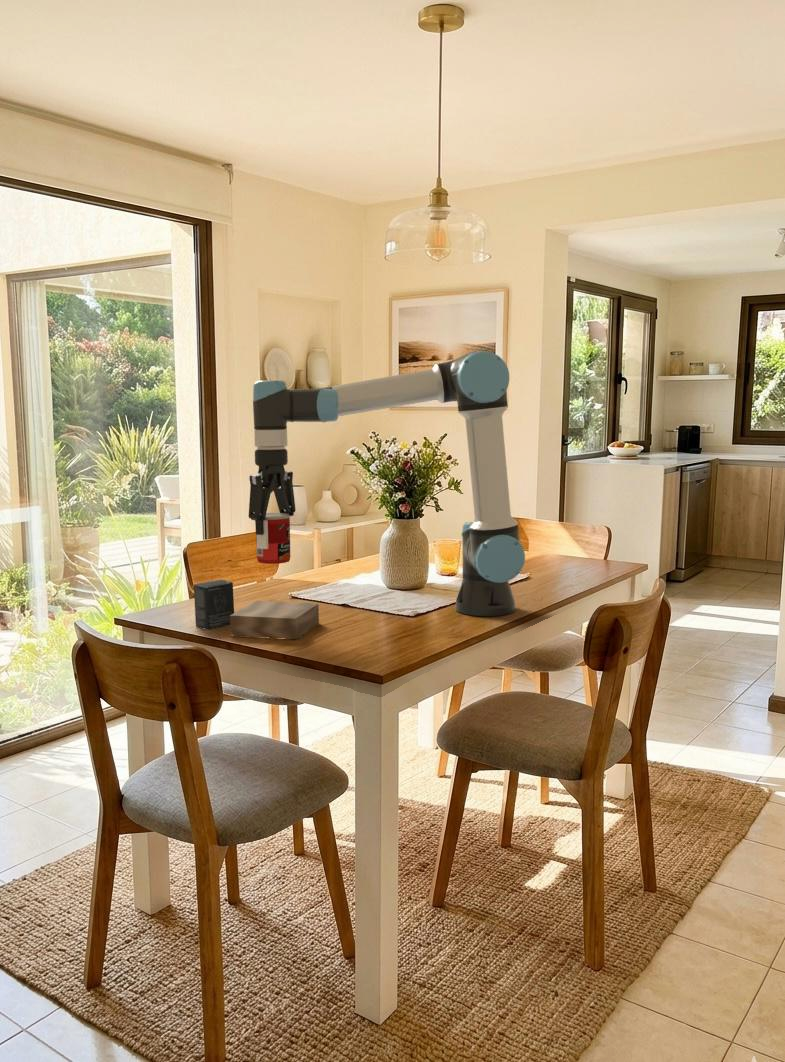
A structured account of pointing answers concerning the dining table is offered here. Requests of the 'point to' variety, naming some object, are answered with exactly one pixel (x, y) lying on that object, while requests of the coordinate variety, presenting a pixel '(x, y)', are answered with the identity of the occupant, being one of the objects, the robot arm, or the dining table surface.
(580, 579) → the dining table surface
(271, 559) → the canned food
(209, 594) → the box
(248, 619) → the brown wooden block
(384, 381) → the robot arm
